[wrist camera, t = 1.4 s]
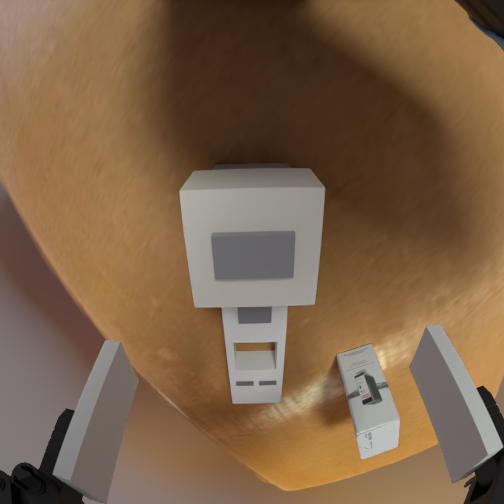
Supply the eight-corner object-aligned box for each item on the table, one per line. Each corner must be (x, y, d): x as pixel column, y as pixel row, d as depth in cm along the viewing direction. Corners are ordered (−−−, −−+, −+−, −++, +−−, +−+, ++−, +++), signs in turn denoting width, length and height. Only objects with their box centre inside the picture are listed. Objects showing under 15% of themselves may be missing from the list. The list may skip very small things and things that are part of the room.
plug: (198, 163, 24) (176, 194, 17) (304, 161, 24) (327, 190, 17) (206, 256, 28) (193, 312, 21) (300, 253, 28) (316, 310, 21)
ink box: (376, 379, 38) (399, 448, 28) (343, 390, 39) (360, 461, 29) (372, 341, 35) (402, 420, 24) (334, 353, 35) (355, 435, 25)
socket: (222, 269, 29) (219, 291, 26) (285, 267, 29) (289, 289, 26) (233, 385, 38) (232, 407, 35) (279, 384, 38) (280, 406, 35)
